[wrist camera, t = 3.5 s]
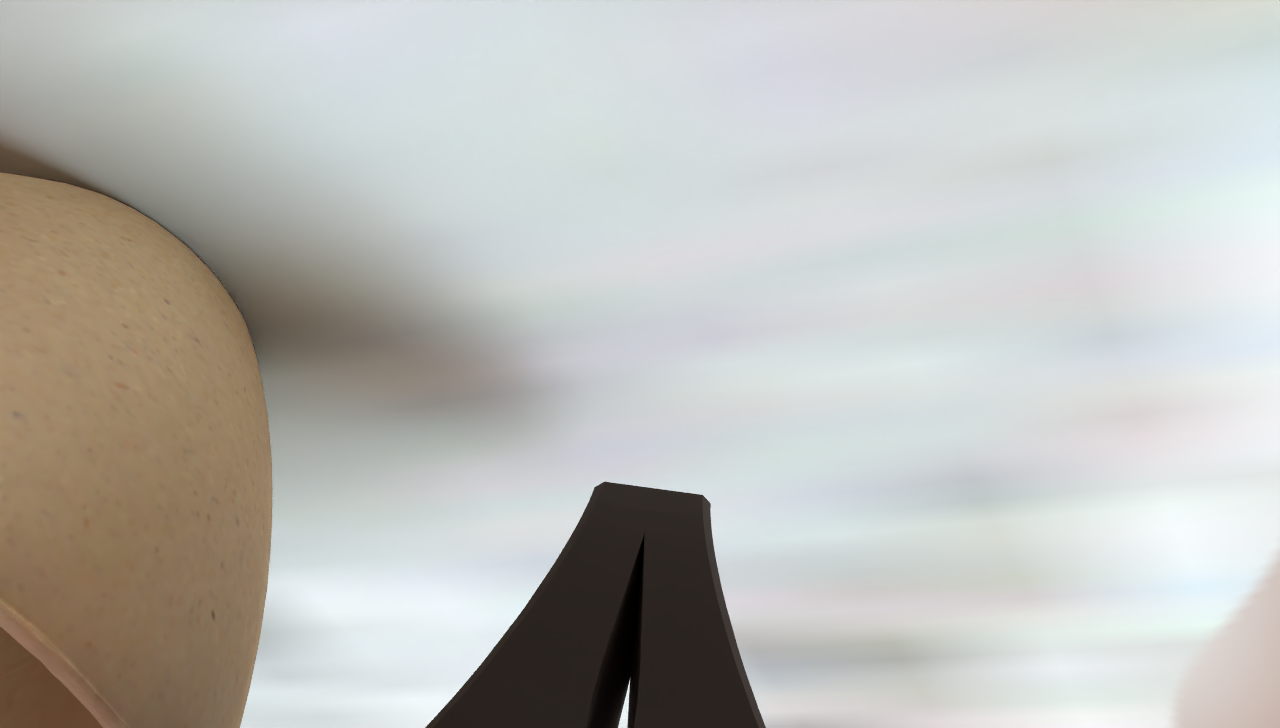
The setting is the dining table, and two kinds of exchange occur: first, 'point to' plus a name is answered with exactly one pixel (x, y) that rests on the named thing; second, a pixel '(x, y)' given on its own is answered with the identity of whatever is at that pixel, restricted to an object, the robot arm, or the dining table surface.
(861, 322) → the dining table surface
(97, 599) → the flower pot
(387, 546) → the dining table surface
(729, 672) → the robot arm
